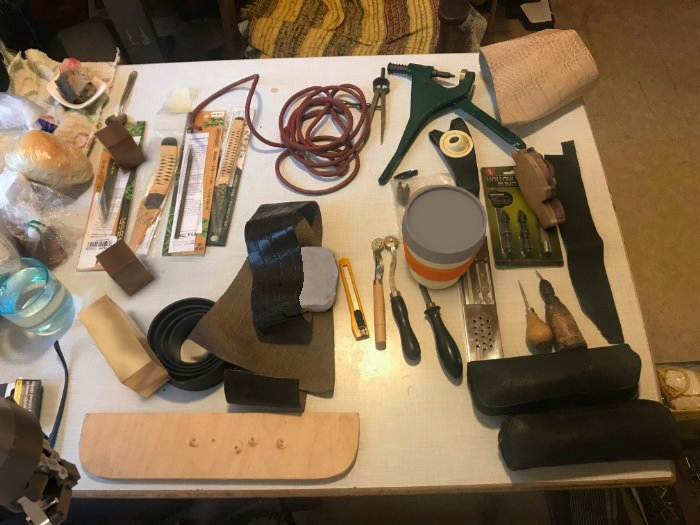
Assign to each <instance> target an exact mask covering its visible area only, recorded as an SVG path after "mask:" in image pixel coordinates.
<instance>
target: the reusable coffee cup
mask: <svg viewBox="0 0 700 525" xmlns="http://www.w3.org/2000/svg"><path fill="white" fill-rule="evenodd" d="M487 227H488V216H487V212H486V209H485V207H484V205H483V203H482V202H481V201H480V199H479V198H478V197H477V196H475V194H473V193H472V192H470V191H469V190H467V189H464V188H463V187H460V186H457V185H452V184H436V185H435V184H434V185H430V186H427V187H425V188H423V189H420V190H419V191H417V192H416V193H415V194H414V195H413V196H412V197H411V198H410V199H409V200H408V202H407V204H406V205H405V209H404V212H403V216H402V220H401V234H402V236H401V237H402V245H403V251H404V257H405V260H406V263H407V264H408V266H409V272H410V274H411V275H412V277H413V279H414V280H415V281H416V282H417V283H418V284H420V285H421V286H423V287H425V288H428V289H432V290H441V289H446V288H449V287H451V286H453V285H455V284H456V282H458V280H459V279H460V277H461V276H463V275H464V274H465V273H466V272H467V271H468V270H469V269H470V266H471V265H472V263H473V262H474V260H475V259H476V257H477V255H478V254H479V251H480V249H481V247H482V246H483V244H484V242H485V239H486V235H487Z"/></svg>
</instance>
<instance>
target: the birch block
mask: <svg viewBox="0 0 700 525" xmlns="http://www.w3.org/2000/svg"><path fill="white" fill-rule="evenodd" d="M76 316H77V317H78V318H79V321H80V323H81V324H82V325H83V327H84V328H85V330H86V332H87V333H88V334H89V336H90V338H91V339H92V341H93V342H94V344H95V345H96V347H97V348H98V350H99V352H100V353H101V355H102V357H103V358H104V359H105V361H106V362H107V364H108V365H109V367H110V368H111V370H112V372H113V373H114V375H115V376H116V377H117V379H118V381H119V383H120V384H122V385H123V386H125V387H127V388H128V389H130V390H132V391H133V392H135V393H136V394H138V395H140V396H142V397H144V398H145V399H147V398H148V397H150V396H151V395H152V394H154V392H156V391H157V390H158V389H160V388H161V387H162V386H164V385H165V384H166V383H167V382H169V381H170V380H171V379H168V378H166V376H167V375H168V372H167V370H166V369H165V367H164V366H163V364H162V363H161V362H160V360H159V359H158V358H157V356H156V355H155V353H154V352H153V350H152V349H151V348H150V346H149V344H148V342H149V340H148V339H147V338H146V336H145V335H144V333H143V332H142V330H141V329H140V327H139V326H138V325H137V323H136V322H135V320H134V319H133V318H132V316H131V315H130V314H129V313H128V312H126V310H124V309H123V308H122V307H121V306H120V305H119V304H118V303H117V302H115V301H114V300H113V299H112V298H111V297H110V296H109V295H108V294H104V295H102V296H101V297H99V298H98V299H96V301H94V302H91V304H89V305H88V306H87V307H85V308H83V309H82V310H81V311H79V312H78V313H76Z"/></svg>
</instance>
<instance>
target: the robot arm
mask: <svg viewBox="0 0 700 525" xmlns="http://www.w3.org/2000/svg"><path fill="white" fill-rule="evenodd" d="M50 443H51V441H50V437H49V436H48V434H46V433H45V432H44V431H43V427H42V425H41V423H40V421H39V419H38V418H37V417H36V415H35V414H33V412H32V411H31V410H29V409H27V408H25V407H23V406H21V405H20V404H19V403H18V402H17V401H16V399H15V398H14V397H13V396H10V395H7V396H6V397H3V396H1V395H0V506H3V507H4V508H6V509H7V510H9V511H10V512H12V513H17V514H18V513H22V512H24V513H25V514H26V515H27V516H26V518H25V520H26V522H27V523H28V524H27V525H60V524H61V523H63V522H65V521H66V520H67V516H68V513H69V509H70V504H71V500H72V496H73V488H74V487H76V486H78V485H79V481H80V480H81V479H82V476H81V474H80V472H79V470H78V467H77V466H76V464H75V463H72V462H70V461H67V460H66V459H65V458H61V455H60V453H59V452H58V451H56V450H55V449H53V448H52V447H51V445H50Z"/></svg>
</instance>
